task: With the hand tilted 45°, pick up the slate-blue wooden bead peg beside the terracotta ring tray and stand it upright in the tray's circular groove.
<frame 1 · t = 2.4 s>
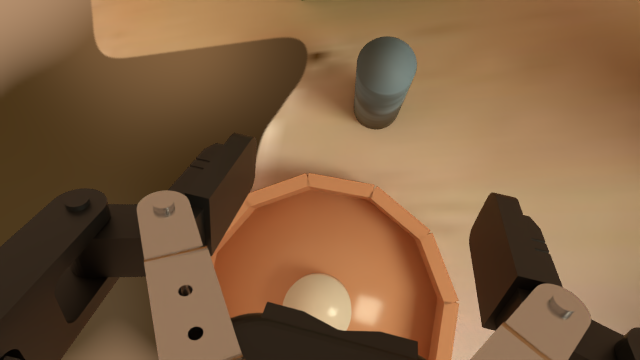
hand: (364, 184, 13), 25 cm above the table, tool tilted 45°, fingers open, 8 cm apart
bead peg: (376, 107, 39), on the table
ring tray: (319, 303, 37), on the table
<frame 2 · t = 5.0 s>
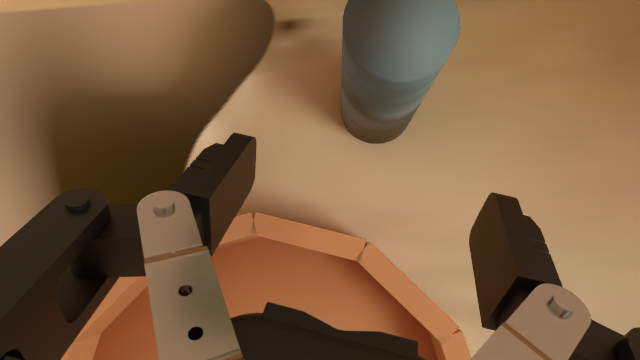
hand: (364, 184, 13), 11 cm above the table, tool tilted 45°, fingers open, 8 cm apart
bead peg: (375, 109, 25), on the table
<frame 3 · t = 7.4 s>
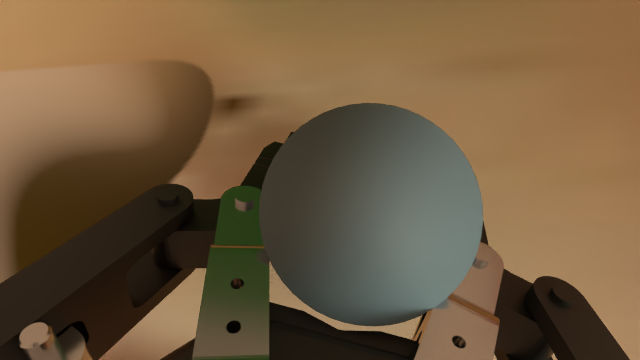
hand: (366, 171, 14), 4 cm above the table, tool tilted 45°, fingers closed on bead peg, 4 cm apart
bead peg: (351, 227, 18), on the table, touching gripper
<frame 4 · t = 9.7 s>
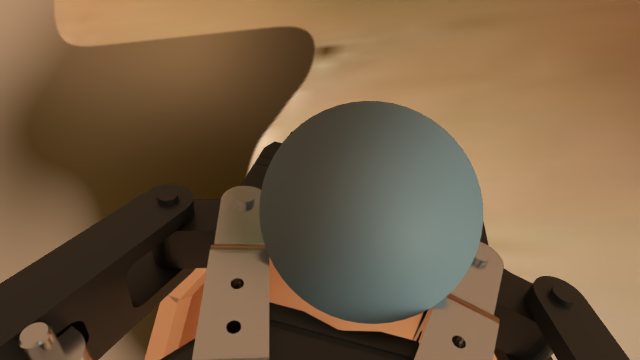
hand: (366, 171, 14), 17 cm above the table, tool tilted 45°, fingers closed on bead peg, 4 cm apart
bead peg: (351, 226, 18), point 13 cm above the table, touching gripper
when the fingers open (7 cm above the table, at t = 12.1 s): bead peg drops 2 cm, resting on ring tray.
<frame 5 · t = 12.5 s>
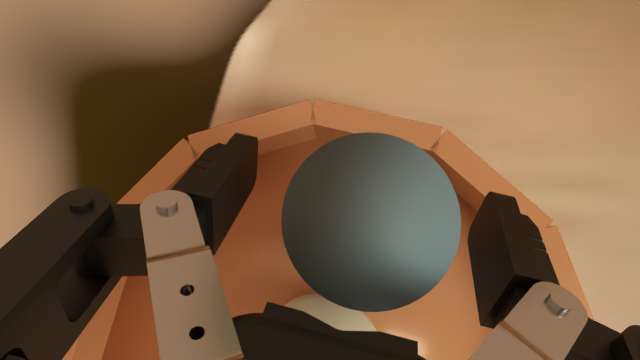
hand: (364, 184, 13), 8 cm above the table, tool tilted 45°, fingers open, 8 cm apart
bead peg: (352, 231, 20), point 1 cm above the table, touching ring tray
ring tray: (321, 349, 20), on the table
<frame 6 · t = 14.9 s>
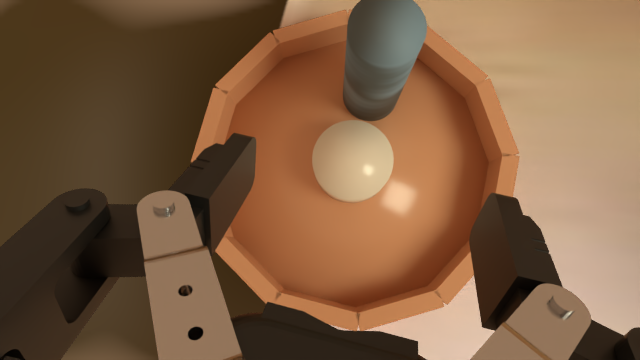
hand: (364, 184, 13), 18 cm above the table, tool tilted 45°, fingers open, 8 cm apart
bead peg: (370, 95, 32), point 1 cm above the table, touching ring tray
ring tray: (350, 168, 32), on the table
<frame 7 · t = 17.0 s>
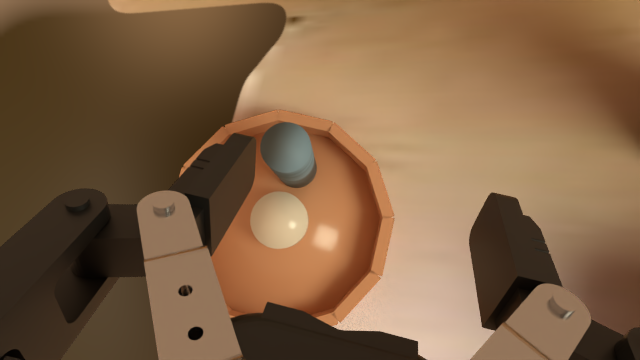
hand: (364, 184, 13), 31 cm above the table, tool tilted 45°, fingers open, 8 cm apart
bead peg: (296, 168, 44), point 1 cm above the table, touching ring tray
ring tray: (283, 221, 44), on the table
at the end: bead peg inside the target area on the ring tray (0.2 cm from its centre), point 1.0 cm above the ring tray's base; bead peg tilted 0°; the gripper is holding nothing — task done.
